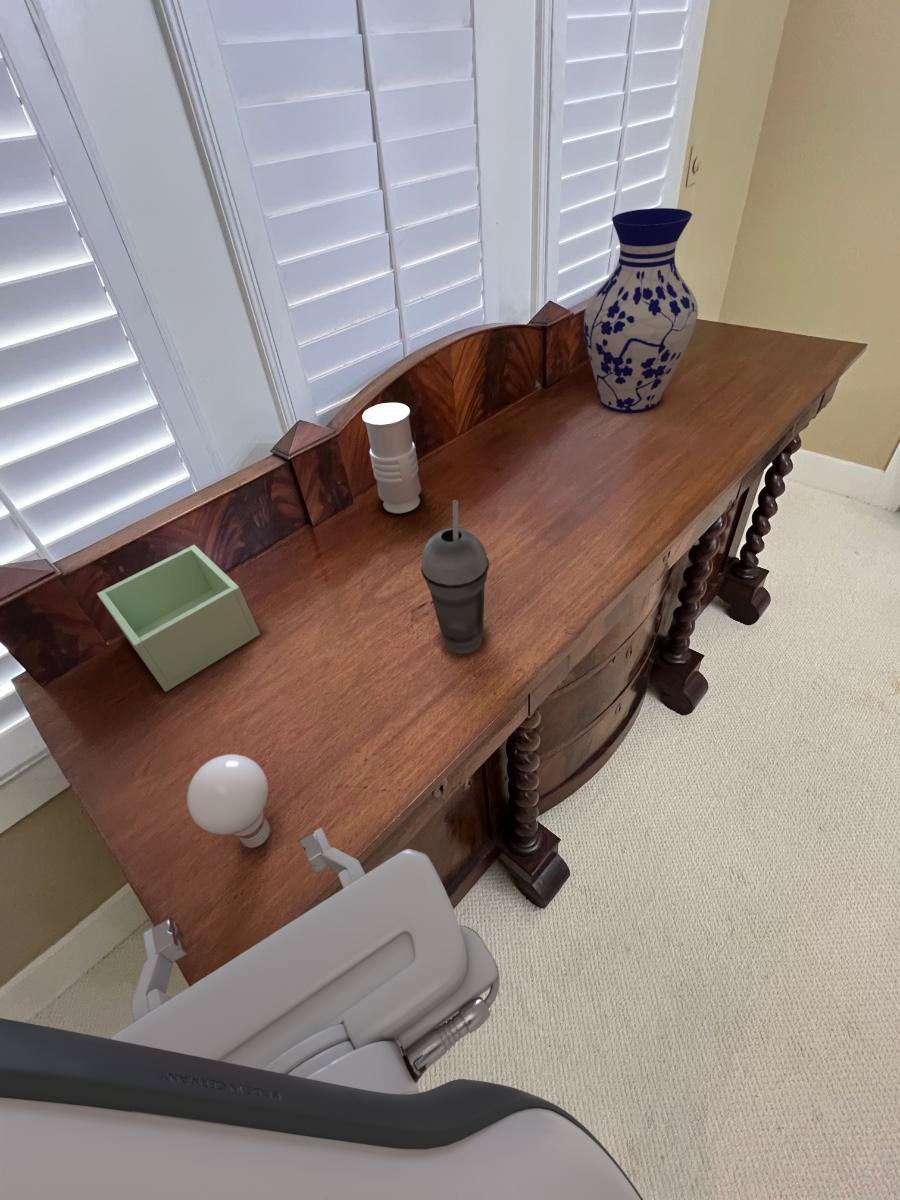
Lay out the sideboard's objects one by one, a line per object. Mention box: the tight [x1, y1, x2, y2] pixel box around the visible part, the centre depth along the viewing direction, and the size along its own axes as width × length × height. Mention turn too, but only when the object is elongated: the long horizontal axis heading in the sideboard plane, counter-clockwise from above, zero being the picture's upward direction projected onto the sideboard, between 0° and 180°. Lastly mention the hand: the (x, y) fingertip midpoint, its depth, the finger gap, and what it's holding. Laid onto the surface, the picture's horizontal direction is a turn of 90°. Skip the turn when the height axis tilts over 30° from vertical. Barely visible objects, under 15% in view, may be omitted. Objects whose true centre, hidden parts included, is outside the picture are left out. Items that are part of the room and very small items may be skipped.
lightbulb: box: [186, 753, 272, 849], centre depth 50 cm, size 6×6×11 cm
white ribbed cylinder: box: [362, 402, 422, 514], centre depth 88 cm, size 7×7×15 cm
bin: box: [96, 544, 261, 693], centre depth 72 cm, size 13×13×8 cm
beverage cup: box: [420, 500, 490, 655], centre depth 63 cm, size 7×7×20 cm
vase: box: [583, 207, 699, 414], centre depth 102 cm, size 19×19×30 cm
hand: (240, 880), depth 35 cm, fingers open, 8 cm apart
